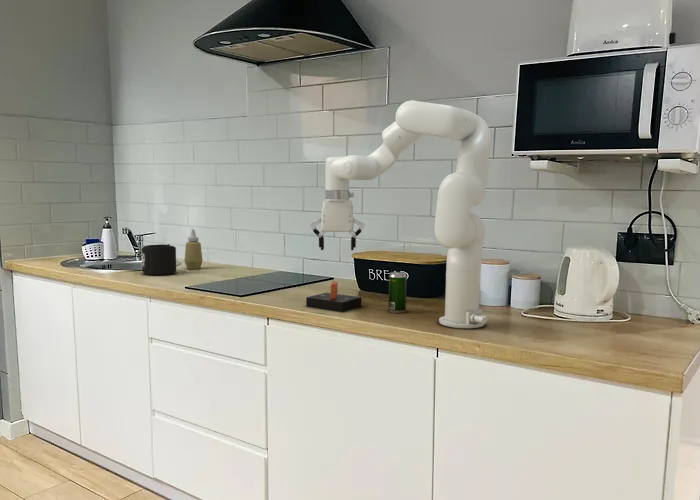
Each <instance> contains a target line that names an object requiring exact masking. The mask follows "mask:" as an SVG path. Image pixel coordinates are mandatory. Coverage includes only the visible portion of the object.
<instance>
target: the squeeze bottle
mask: <svg viewBox="0 0 700 500" xmlns="http://www.w3.org/2000/svg"><path fill="white" fill-rule="evenodd" d="M199 239H200V238H199V236H198V237H197V234H196V231H195V229H191V231H190V236H189V237H187V242H186V243H185V251H184V264H185V267H186V269H188V270H199V269H201V267H202V265H203V261H204V259H203V252H202V243H201V242H200V240H199Z"/></svg>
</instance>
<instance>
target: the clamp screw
mask: <svg viewBox="0 0 700 500" xmlns="http://www.w3.org/2000/svg"><path fill="white" fill-rule="evenodd" d="M338 286H339V285H338V281H332V282H331V283H330V293H331V299H336V297H337V294H338Z"/></svg>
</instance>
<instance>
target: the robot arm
mask: <svg viewBox="0 0 700 500" xmlns="http://www.w3.org/2000/svg"><path fill="white" fill-rule="evenodd" d="M425 136H432V137H439V138H443V139H449V140H455V141H459V142H460V148H459V150H458V154H457V158H456V168H455V171H454V172H452V173H449V174H448V175H446V176H445V177H444V178H443V179H442V181H441V183H440V185H439V187H438V192H437V198H436V208H435V216H434V236H435V239H436V242H438V243H439V244H440V245H441V246H442V247H444V248H446V249H448V250H447V256H446V266H445V268H446V269H445V295H444V296H445V297H444V316H440V317H439V318H438V323H439V324H440V325H442V326H444V327H448V328H454V329H479V328H482V327H484V326H485V324H486V323H487V322H488V321H489V320H490V319H489V318H490V317H489V316H488V315H485V314H484V315H483V310H482V309H480V300H481V299H480V298H481V296H480V295H481V274H482V273H481V271H482V254H483V247H484V241H485V235H486V234H485V232H486V230H485V224H484V222H483V220H482V218H480V216H479V215H477V214H476V213H473V212H471V208H475V207H477V206H479V205H480V204H481V203H482V202H483V200H484V199H485V196H486V190H487V183H488V182H487V181H488V173H489V162H490V154H491V145H492V134H491V129H490V127H489V125H488V123H487V121H485V120H484V119H483V118H482V117H481V116H480V115H478V114H476V113H475V112H473V111H470V110H468V109H465V108H462V107H458V106H452V105H449V104H444V103H443V104H442V103H435V102H433V103H432V102H426V101H421V100H413V99H411V100H407V101H404V102H403V103H402V104H400V105H399V107H398V108H397V110H396V112H395V120H394V122H392V123H390V124H389V125H388V126H387V127H386V128H384V129H383V131H382V132H381V138H382V141H383V142H382V143H381V144H380V146H379V147H377V149H376V150H374V151H373V152H372V153H370V154H368V155H357V154H350V155H345V156H329V157H327V158H326V159H325V163H324V164H325V168H324V169H325V200H323V201H322V207H321V218H319V219H316V220H315V221H313V222H311V223H310V225H309V226H310V228H311V230H312V232H313V233H314V234H315V236H317V238H318V248H320V251H323V250H325V237H324V235H325V233H326V232H327V233H349V234H350V236H351V237H350V250H351V251H354V249H355V248H357V237H358V236H359V235H360V234H361V233H362V231H363V230H364V228H365V223H364V222H362V221H360V220H358V219H356V218H354V207H353V201H352V200H350V198H354V195H355V193H354V192H351V191H350V180H352V181H371V180H374V179H376V178H378V177H379V176H381V175H382V174H383V173H385V172H386V171H388V170H389V169H390V168H391V167H393V165H394V164H396V161H397V160H399V157H400V155H401V154H402V153H403V152H404V151H406V150H407V149H409V148H410V147H411V146H412V145H414V144H415V143H416V142H418V141H419V140H421V139H422V138H424V137H425ZM319 224H320V228H321V230H320V231H319V229H317V225H319ZM354 224H355V225H357V226H358V229H357V230H356V231H354V230H353V229H354Z"/></svg>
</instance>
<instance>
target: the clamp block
mask: <svg viewBox="0 0 700 500" xmlns="http://www.w3.org/2000/svg"><path fill="white" fill-rule="evenodd" d="M362 302H363V301H362V296H355V295H347V294H343V293H342V294H339V293H337V297H336V299H331V292H323V293H319V294H314V295H310V296H306V297H305V306H306V307H307V308H313V309H320V310H327V311H332V312H339V313H344V312H347V311H350V310H354V309H357V308H360V307H361V308H362Z"/></svg>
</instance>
